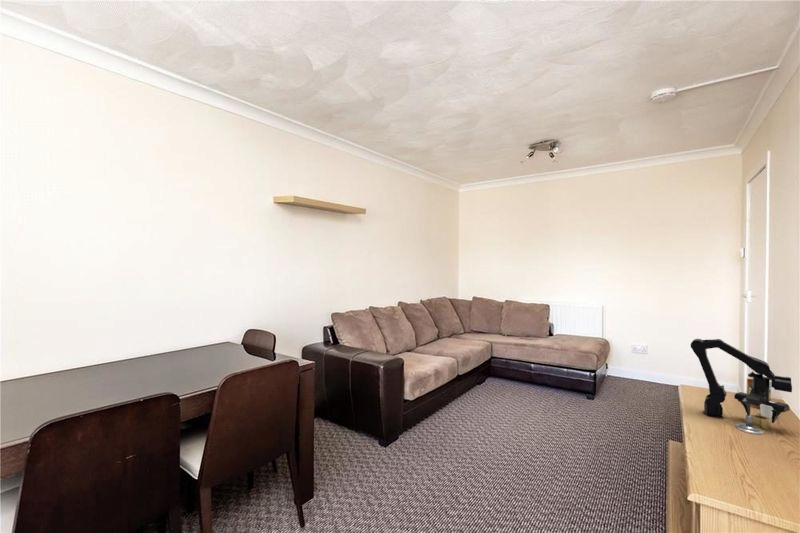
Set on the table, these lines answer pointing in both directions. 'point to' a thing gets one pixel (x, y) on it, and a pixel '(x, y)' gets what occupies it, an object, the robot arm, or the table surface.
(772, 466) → the table surface
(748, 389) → the candy box
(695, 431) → the table surface
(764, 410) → the white cup
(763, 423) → the collar
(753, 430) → the hub
